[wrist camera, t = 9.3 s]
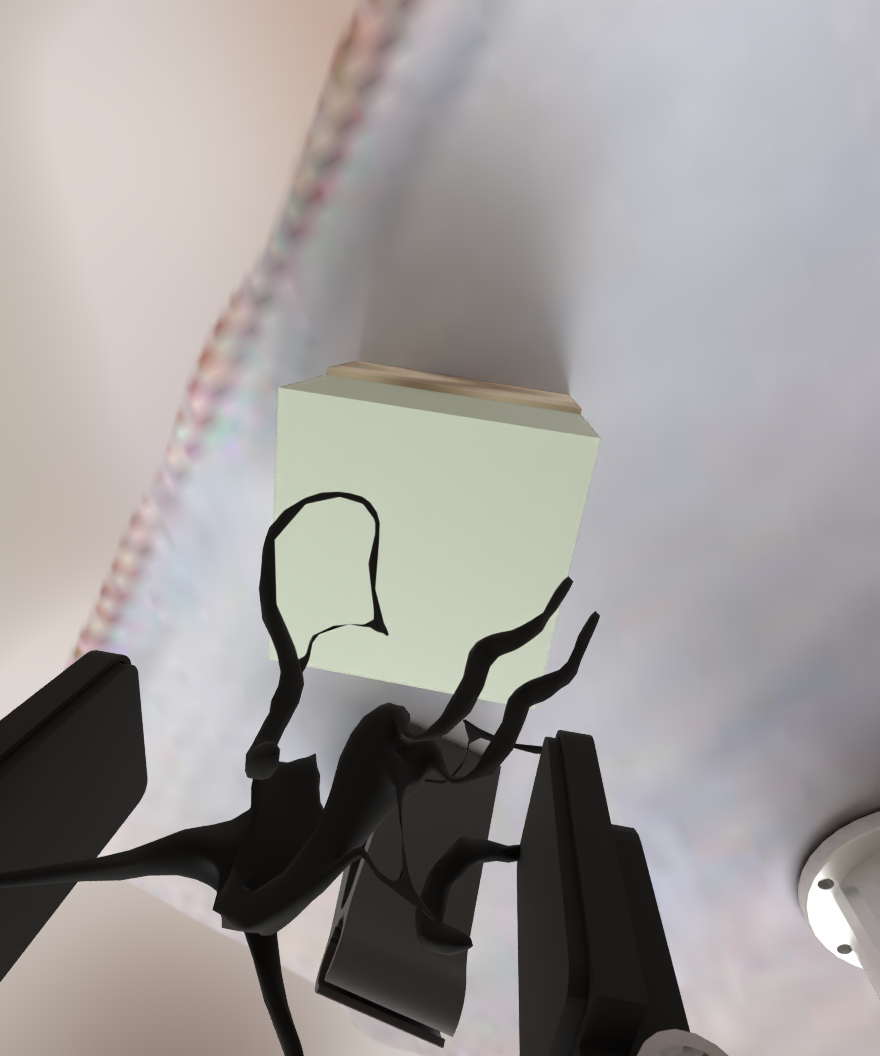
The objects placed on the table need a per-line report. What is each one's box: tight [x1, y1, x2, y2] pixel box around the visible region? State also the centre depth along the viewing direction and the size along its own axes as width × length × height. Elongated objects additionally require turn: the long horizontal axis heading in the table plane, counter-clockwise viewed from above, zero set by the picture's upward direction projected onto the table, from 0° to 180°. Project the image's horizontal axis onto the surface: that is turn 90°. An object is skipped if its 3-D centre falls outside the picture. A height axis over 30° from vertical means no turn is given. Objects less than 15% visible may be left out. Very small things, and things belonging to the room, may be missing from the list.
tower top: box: [269, 375, 601, 710], centre depth 21 cm, size 10×10×5 cm
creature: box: [0, 492, 600, 1056], centre depth 8 cm, size 8×5×8 cm
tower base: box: [327, 361, 582, 414], centre depth 26 cm, size 10×10×5 cm
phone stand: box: [315, 724, 501, 1048], centre depth 29 cm, size 9×6×12 cm, turn 154°
